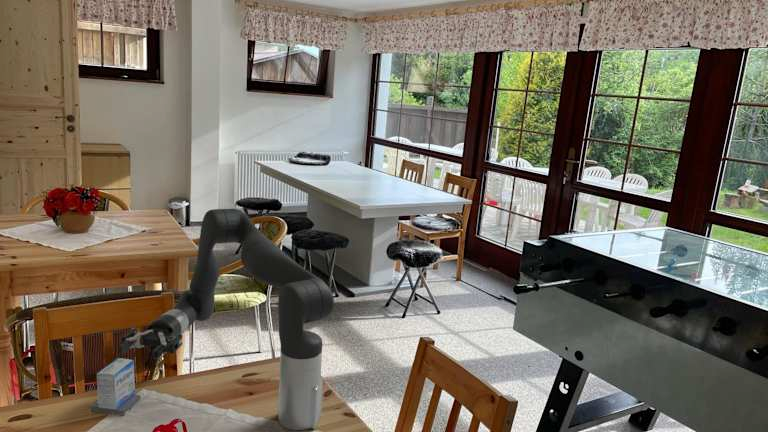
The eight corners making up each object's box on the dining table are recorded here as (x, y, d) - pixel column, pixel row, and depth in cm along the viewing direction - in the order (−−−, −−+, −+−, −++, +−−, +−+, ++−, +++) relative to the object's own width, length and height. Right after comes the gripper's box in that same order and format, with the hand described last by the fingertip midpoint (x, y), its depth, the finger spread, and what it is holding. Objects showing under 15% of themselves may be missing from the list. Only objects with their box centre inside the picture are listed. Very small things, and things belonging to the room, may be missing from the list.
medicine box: (116, 410, 133) (114, 375, 131) (97, 408, 134) (96, 372, 132) (135, 393, 141) (134, 359, 139) (117, 390, 141) (116, 357, 139)
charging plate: (140, 399, 140) (140, 394, 140) (124, 415, 133) (123, 410, 133) (108, 395, 141) (108, 390, 141) (90, 410, 134) (90, 405, 134)
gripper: (143, 311, 160) (108, 335, 144) (194, 317, 159) (164, 342, 143) (144, 336, 162) (109, 364, 146) (194, 343, 160) (164, 371, 145)
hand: (136, 353), depth 145 cm, fingers open, 8 cm apart
